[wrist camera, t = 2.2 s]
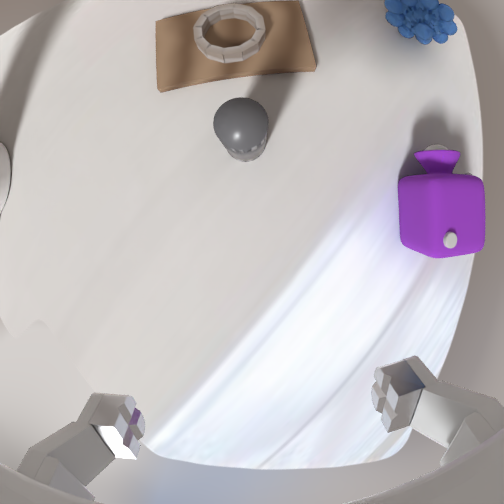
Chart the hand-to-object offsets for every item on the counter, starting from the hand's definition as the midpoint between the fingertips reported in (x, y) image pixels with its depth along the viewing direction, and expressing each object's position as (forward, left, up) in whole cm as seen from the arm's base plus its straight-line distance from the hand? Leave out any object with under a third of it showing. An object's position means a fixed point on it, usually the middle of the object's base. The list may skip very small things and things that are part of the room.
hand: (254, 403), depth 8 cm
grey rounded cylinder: (0, +13, -28) cm, 31 cm away
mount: (0, +28, -28) cm, 39 cm away
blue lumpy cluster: (+26, +29, -28) cm, 48 cm away
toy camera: (+23, +4, -28) cm, 37 cm away
